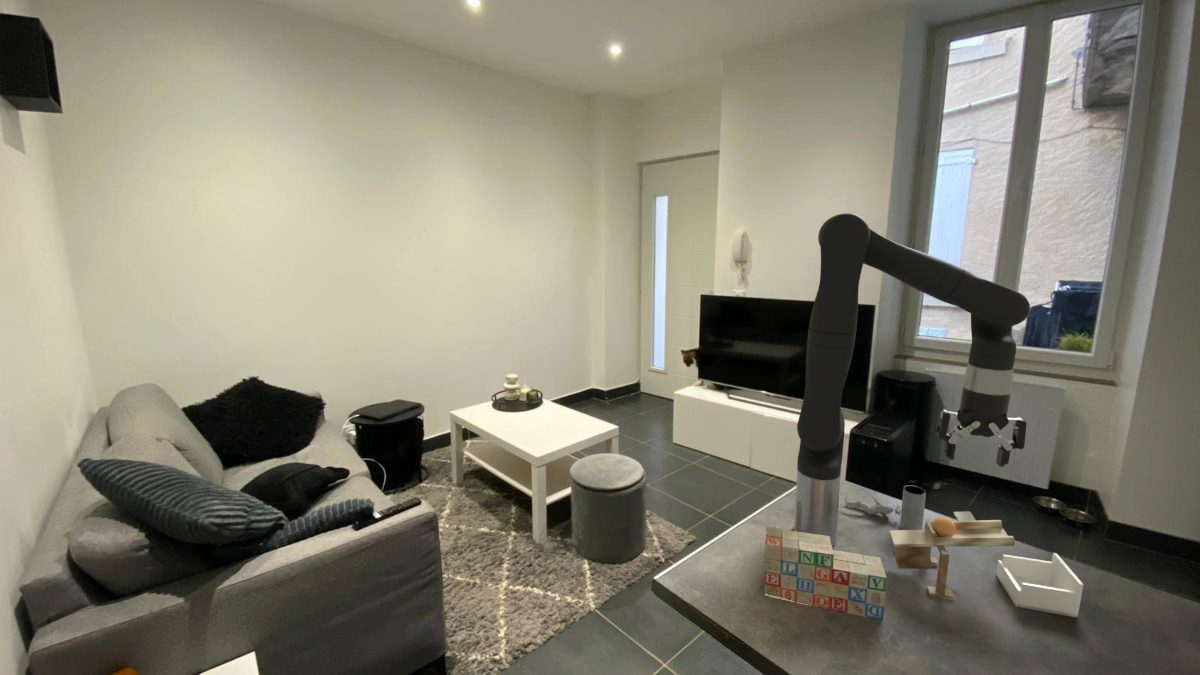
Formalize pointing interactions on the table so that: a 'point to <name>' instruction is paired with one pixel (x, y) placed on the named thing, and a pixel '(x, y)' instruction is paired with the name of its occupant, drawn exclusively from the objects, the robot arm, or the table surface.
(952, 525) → the ball
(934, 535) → the lever
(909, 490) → the planter
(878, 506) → the soldier figure
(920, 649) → the table surface
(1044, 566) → the white open box
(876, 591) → the stack of blocks
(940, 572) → the lever stand
